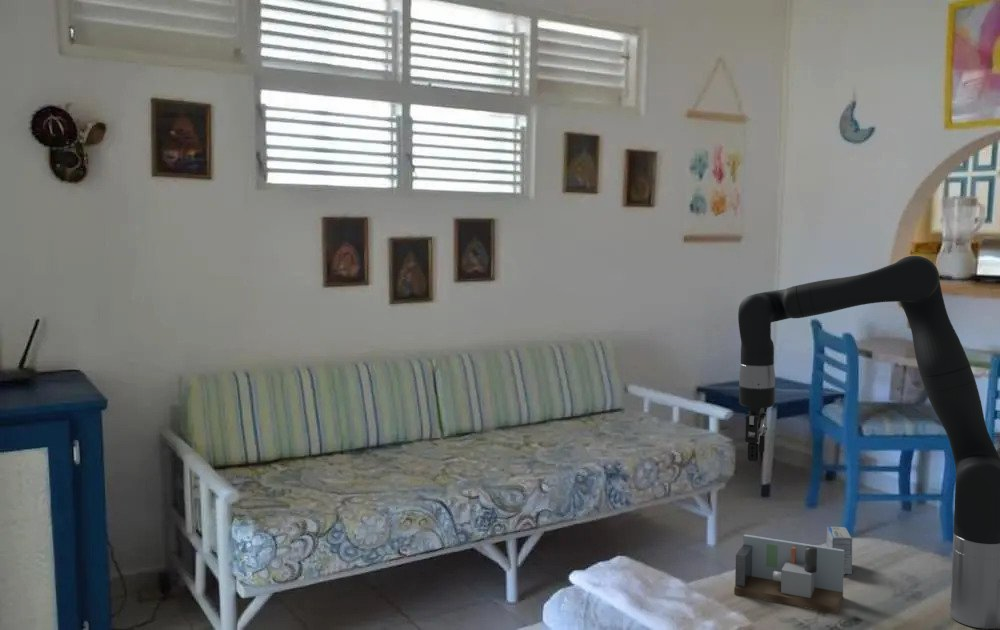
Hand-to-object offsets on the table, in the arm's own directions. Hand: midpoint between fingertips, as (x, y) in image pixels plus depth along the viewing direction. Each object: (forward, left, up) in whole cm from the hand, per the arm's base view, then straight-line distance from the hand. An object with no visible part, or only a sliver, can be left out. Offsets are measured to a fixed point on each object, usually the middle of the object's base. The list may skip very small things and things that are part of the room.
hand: (756, 456), depth 192 cm
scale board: (-8, +1, -27) cm, 28 cm away
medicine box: (-16, -17, -29) cm, 37 cm away
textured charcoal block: (+1, +5, -27) cm, 28 cm away
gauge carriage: (-10, +5, -27) cm, 29 cm away
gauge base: (-8, +5, -29) cm, 30 cm away
